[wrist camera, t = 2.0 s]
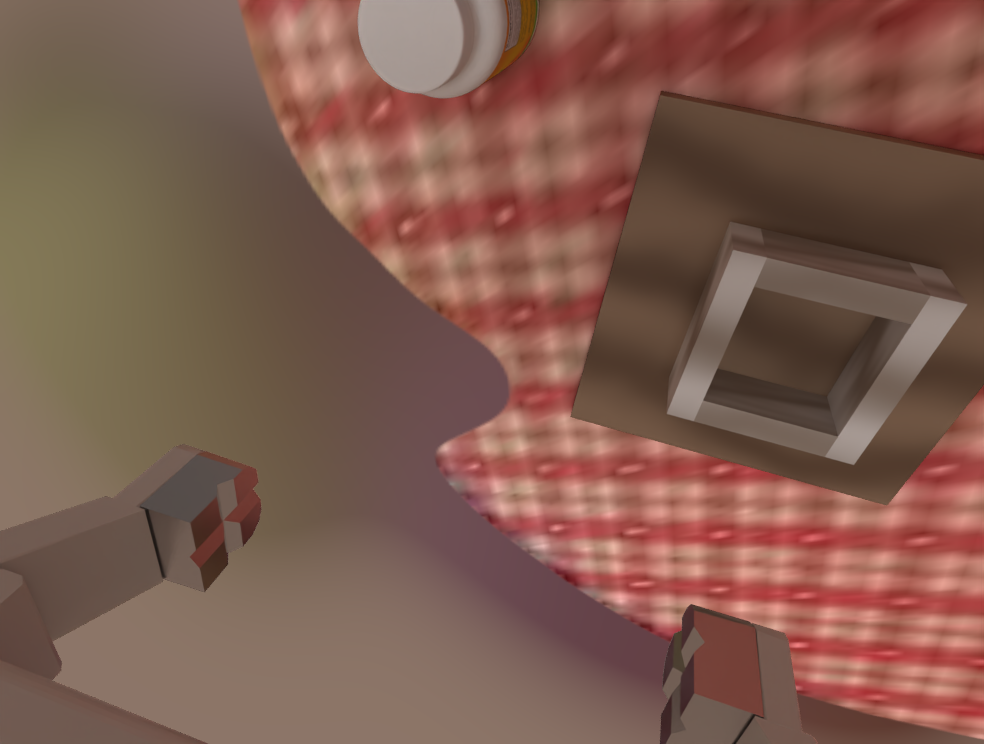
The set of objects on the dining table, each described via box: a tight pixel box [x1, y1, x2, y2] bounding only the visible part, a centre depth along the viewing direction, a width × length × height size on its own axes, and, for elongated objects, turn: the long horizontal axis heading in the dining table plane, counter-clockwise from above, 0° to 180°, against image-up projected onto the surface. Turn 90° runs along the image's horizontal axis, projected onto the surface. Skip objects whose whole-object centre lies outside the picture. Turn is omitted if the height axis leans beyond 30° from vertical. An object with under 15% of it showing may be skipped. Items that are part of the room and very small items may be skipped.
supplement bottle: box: [358, 0, 539, 98], centre depth 25 cm, size 5×5×10 cm
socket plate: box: [571, 91, 984, 505], centre depth 32 cm, size 20×20×4 cm
